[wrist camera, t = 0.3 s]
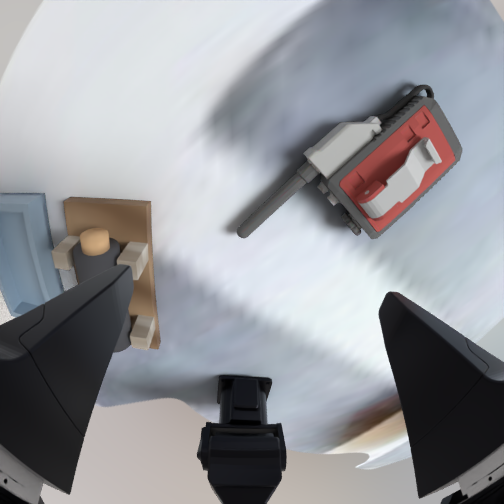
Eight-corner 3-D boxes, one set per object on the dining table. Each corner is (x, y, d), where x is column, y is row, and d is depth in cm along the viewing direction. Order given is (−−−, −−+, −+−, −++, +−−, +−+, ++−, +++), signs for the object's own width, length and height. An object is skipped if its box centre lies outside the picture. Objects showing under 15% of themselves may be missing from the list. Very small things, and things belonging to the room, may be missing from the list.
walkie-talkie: (403, 63, 17) (229, 220, 23) (433, 59, 13) (226, 245, 20) (454, 144, 20) (300, 282, 26) (484, 155, 16) (308, 312, 23)
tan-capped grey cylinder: (137, 326, 27) (128, 355, 24) (102, 321, 27) (90, 348, 23) (124, 225, 22) (107, 248, 18) (83, 222, 21) (61, 244, 18)
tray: (71, 314, 28) (61, 330, 25) (21, 302, 27) (11, 315, 25) (44, 193, 21) (27, 204, 18) (-7, 193, 20) (-24, 203, 18)
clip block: (160, 341, 30) (152, 370, 26) (96, 330, 29) (83, 356, 25) (150, 201, 22) (132, 221, 18) (70, 197, 21) (44, 215, 18)
